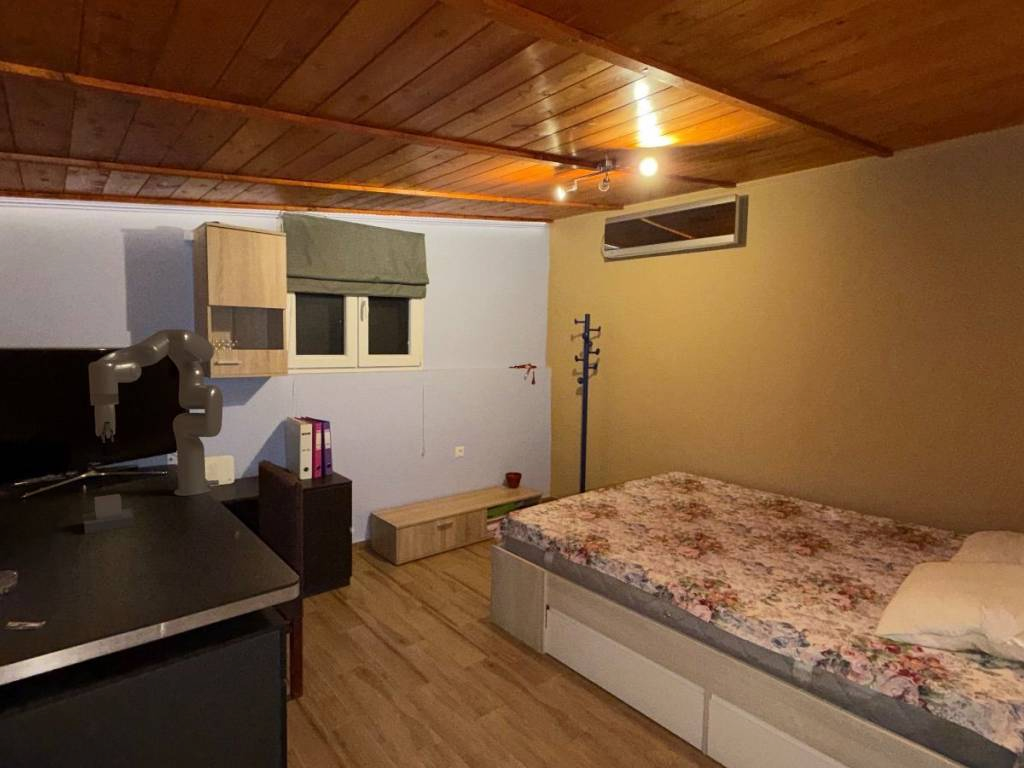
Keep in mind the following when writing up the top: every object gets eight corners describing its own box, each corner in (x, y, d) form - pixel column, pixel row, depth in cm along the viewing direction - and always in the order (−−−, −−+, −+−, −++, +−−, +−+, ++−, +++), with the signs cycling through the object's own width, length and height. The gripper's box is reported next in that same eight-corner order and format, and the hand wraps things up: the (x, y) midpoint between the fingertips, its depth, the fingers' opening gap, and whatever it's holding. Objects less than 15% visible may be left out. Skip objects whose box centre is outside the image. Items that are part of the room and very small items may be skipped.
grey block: (130, 517, 205) (129, 496, 205) (134, 526, 195) (133, 504, 194) (83, 524, 197) (82, 502, 197) (85, 533, 187) (83, 511, 186)
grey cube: (120, 511, 201) (119, 493, 200) (122, 516, 195) (121, 497, 195) (95, 515, 197) (94, 497, 196) (96, 520, 191) (95, 501, 191)
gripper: (89, 398, 199) (92, 450, 201) (91, 402, 186) (95, 458, 187) (116, 397, 204) (119, 447, 205) (120, 401, 190) (124, 455, 191)
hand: (107, 452), depth 196 cm, fingers open, 9 cm apart
